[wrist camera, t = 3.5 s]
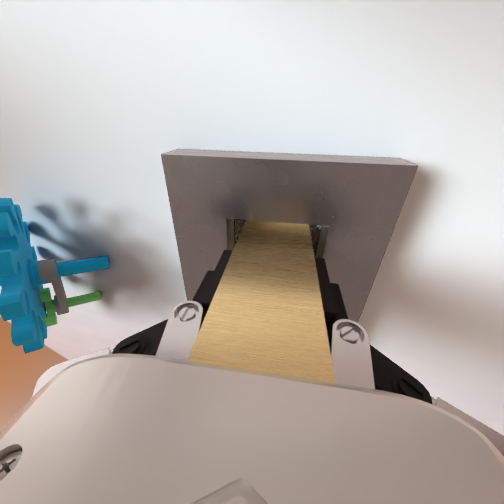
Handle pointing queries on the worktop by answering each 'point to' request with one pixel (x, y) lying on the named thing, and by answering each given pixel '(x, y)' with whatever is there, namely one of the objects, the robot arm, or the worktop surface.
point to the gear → (34, 281)
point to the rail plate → (288, 208)
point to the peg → (268, 306)
